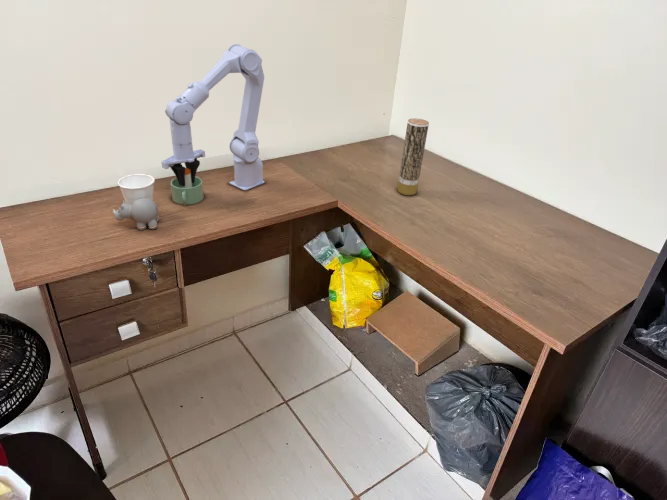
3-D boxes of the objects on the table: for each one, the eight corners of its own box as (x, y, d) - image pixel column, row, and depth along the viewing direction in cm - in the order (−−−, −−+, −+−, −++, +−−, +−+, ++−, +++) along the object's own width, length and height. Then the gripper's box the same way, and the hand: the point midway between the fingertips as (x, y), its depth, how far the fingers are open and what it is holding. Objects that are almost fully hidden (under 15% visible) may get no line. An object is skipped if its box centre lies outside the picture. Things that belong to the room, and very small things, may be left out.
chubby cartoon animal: (119, 219, 139) (113, 193, 135) (162, 219, 141) (158, 193, 137) (113, 232, 133) (107, 205, 129) (158, 231, 135) (153, 204, 131)
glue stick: (188, 190, 155) (186, 167, 150) (194, 193, 153) (192, 170, 149) (180, 193, 153) (178, 169, 148) (186, 196, 151) (184, 172, 147)
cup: (116, 218, 140) (109, 184, 134) (138, 204, 148) (132, 171, 142) (145, 225, 137) (139, 190, 131) (166, 211, 145) (161, 177, 139)
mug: (175, 190, 157) (173, 175, 154) (205, 191, 158) (204, 175, 155) (168, 208, 147) (166, 192, 144) (201, 208, 148) (199, 192, 145)
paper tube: (416, 188, 171) (428, 119, 157) (416, 197, 165) (429, 126, 152) (397, 186, 171) (407, 117, 158) (397, 195, 165) (408, 124, 152)
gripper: (169, 151, 137) (175, 194, 144) (210, 140, 147) (213, 180, 154) (154, 145, 140) (160, 187, 148) (195, 134, 150) (199, 174, 158)
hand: (186, 183), depth 151 cm, fingers closed on glue stick, 3 cm apart
